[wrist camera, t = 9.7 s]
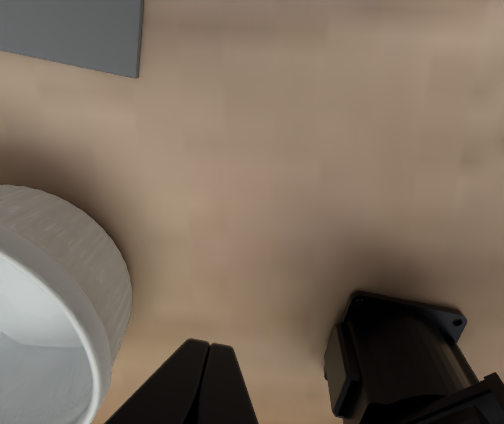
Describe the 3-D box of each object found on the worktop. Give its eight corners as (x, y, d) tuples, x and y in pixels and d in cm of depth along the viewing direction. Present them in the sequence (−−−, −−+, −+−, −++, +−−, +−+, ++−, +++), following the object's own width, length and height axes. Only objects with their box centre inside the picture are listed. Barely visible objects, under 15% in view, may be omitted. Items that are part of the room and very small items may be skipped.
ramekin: (-58, 335, 25) (-173, 433, 19) (-89, 139, 20) (-263, 182, 14) (142, 375, 25) (95, 486, 19) (162, 192, 20) (108, 259, 14)
